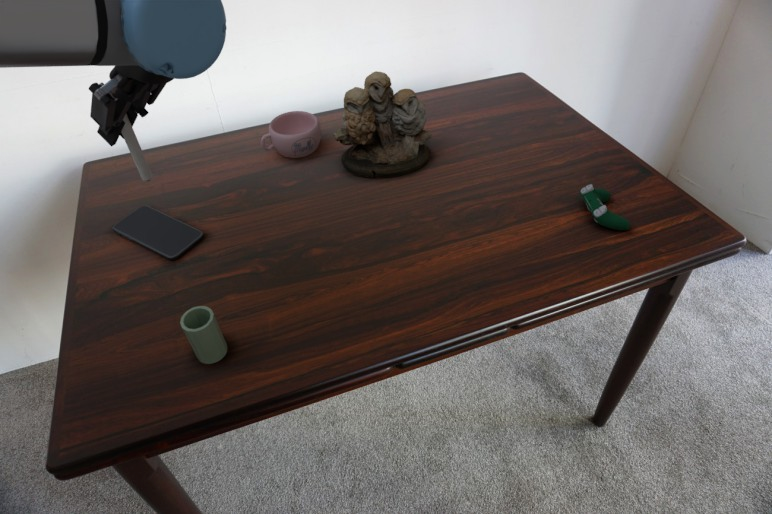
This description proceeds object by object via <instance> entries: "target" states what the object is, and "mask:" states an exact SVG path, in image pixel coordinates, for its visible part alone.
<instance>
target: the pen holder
mask: <svg viewBox="0 0 772 514" xmlns="http://www.w3.org/2000/svg"><path fill="white" fill-rule="evenodd" d="M179 325H180V327H181V329H182V331H183V333H184V335H185V337H186V339H187V341H188V343H189V345H190V347H191V348H192V350H193V353H194V355H195V356H196V358H197V361H199V362H200V363H201V364H205V365H213V364H215V363H218V362H220V361H221V360H222V359H223V358H224V357H226V355H227V352H228V344H227V342H226V339H225V337H224V335H223V332H222V330H221V327H220V325H219V323H218V320H217V318H216V316H215V313H214V311H213V310H212V308H210V307H208V306H206V305H197V306H193V307H191V308H190V309H188V310H186V311H185V312H184V313H183V315H182V316H181V317H180V322H179Z"/></svg>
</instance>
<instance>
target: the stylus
mask: <svg viewBox="0 0 772 514" xmlns="http://www.w3.org/2000/svg"><path fill="white" fill-rule="evenodd" d="M123 121H124V122H125V125H124V127H123V129H122V131H121V133H122V135H123V137H124V139H123V140H124V141H125V144H126V146H127V148H128V150H129V153H130V156H131V158H132V160H133V162H134V164H135V167H136V168H137V169H136V170H137V171H138V174H139V176H140V178H141V180H142V181H143V182H150V181H151V180H152V179H153V178H154V176H153V173H152V170H151V169H150V166H149V164H148V161H147V159H146V156H145V154H144V151H143V149H142V147H141V144H140V142H139V140H138V137H137V136H136V134H135V131H134V128H133V127H132V126H131V123H130V121H129V118H128V116H127V114H126V115H125V117H124V118H123Z"/></svg>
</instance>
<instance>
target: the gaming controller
mask: <svg viewBox="0 0 772 514" xmlns="http://www.w3.org/2000/svg"><path fill="white" fill-rule="evenodd" d="M579 195H580V197H581V199H582V200H583V202H584V203H585V205H586V206H587V207H586V208H587V210H588V211H589V212H590V214H591V215H592V217H593V220H594V221H595V223H596V224H599V226H600V225H601V226H602V227H605V228H608V229H611V230H616V231H629V230H630V226H631V223H630V221H629V220H628V219H626V218H625V217H624V216H621V215H619V214H617V213H615V212H613V211H610V210H609V208H608V207H607V205H606V204H604V203H606V202H608V201H609V200H610V199H611V196H612V195H611V193H610V191H608V190H607V189H606V188H599V187H594V185H593V184H592V183H590V184H587V185H585V186H583V187H582V188H581V189H580V190H579Z"/></svg>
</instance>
